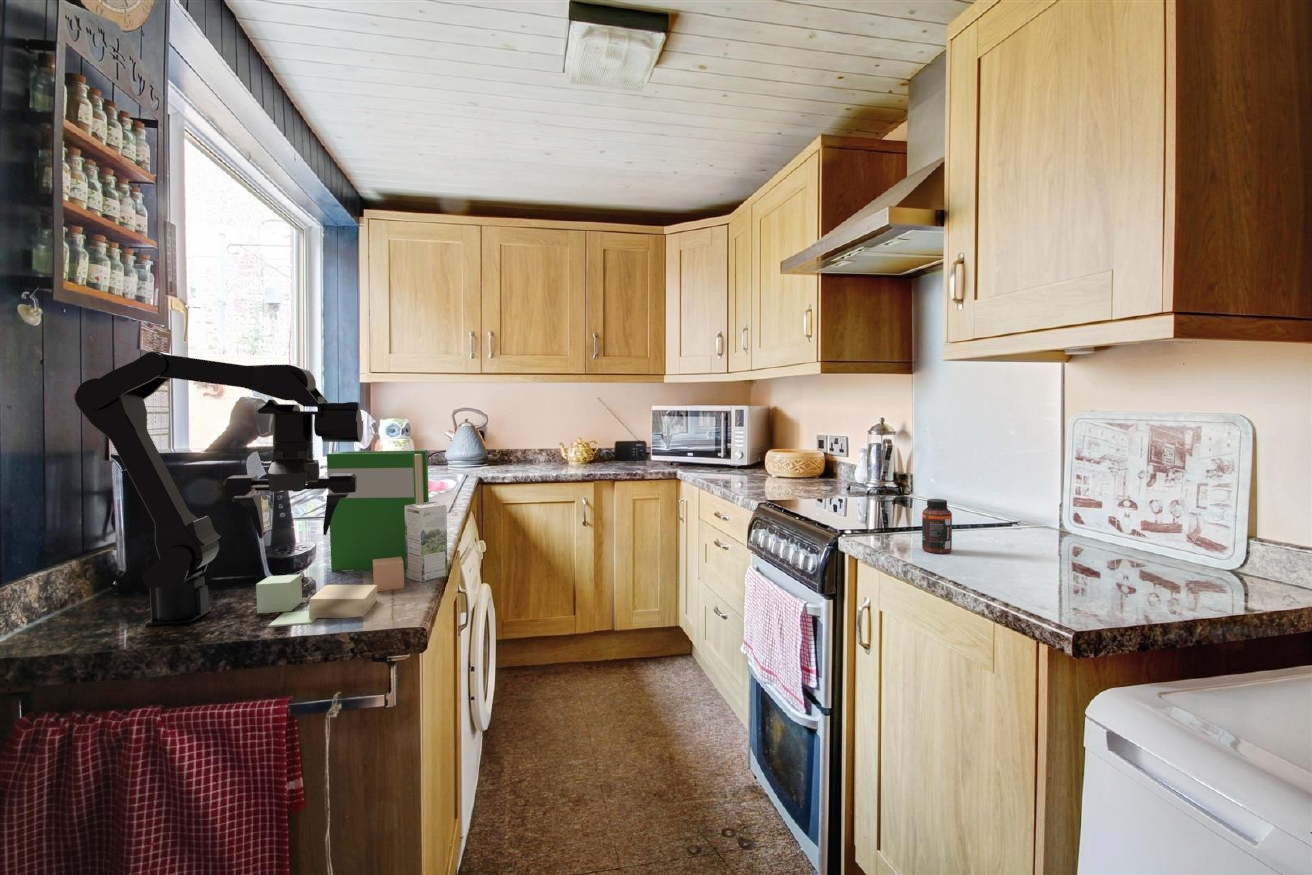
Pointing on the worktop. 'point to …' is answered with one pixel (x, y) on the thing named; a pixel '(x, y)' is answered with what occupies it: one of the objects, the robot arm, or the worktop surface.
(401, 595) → the worktop surface
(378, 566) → the terracotta cube
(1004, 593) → the worktop surface
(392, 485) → the hardback book
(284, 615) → the sage swatch
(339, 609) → the beech block
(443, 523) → the syrup box
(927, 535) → the supplement bottle
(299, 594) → the sage cube
